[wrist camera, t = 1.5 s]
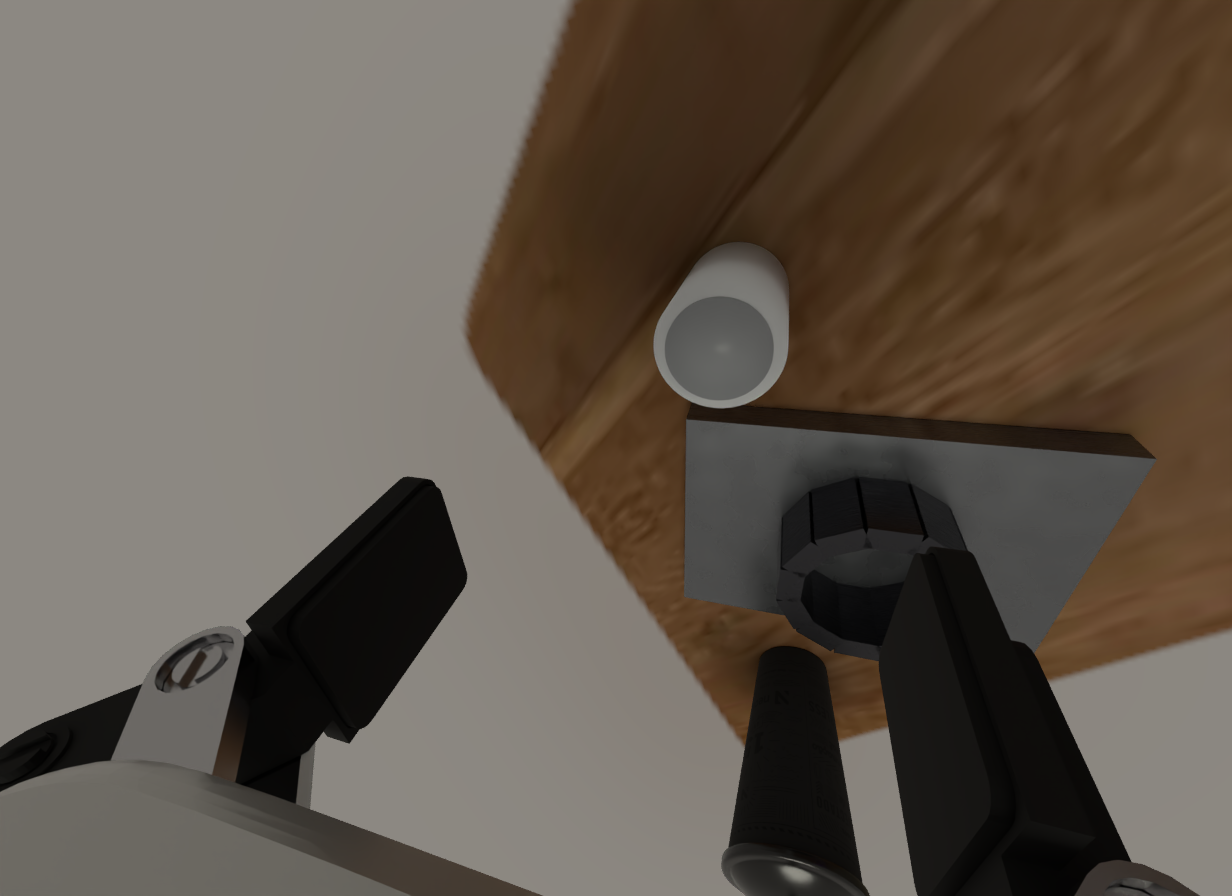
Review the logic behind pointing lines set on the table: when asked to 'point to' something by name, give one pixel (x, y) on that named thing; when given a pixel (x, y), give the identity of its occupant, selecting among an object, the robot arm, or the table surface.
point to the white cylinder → (726, 327)
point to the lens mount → (893, 514)
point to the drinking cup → (792, 789)
